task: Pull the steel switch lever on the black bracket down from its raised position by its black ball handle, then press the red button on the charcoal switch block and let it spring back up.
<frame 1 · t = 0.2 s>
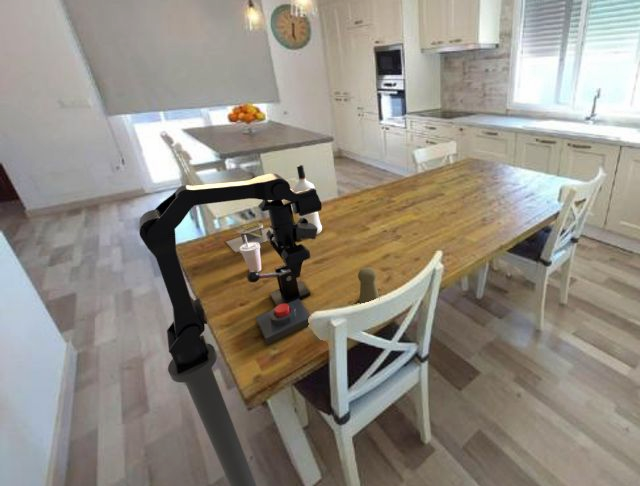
hand: (292, 269, 92), 12 cm above the table, tool pointing down, fingers open, 9 cm apart
switch bracket: (290, 295, 100), on the table
smoothie: (255, 270, 113), on the table
vodka: (311, 232, 139), on the table
switch button: (282, 310, 87), point 4 cm above the table, slide at 0.1 cm
grey brown pawn: (369, 301, 97), on the table
switch block: (285, 323, 89), on the table
switch lever: (269, 275, 94), point 10 cm above the table, hinge at 20.0°
platform: (253, 239, 134), on the table
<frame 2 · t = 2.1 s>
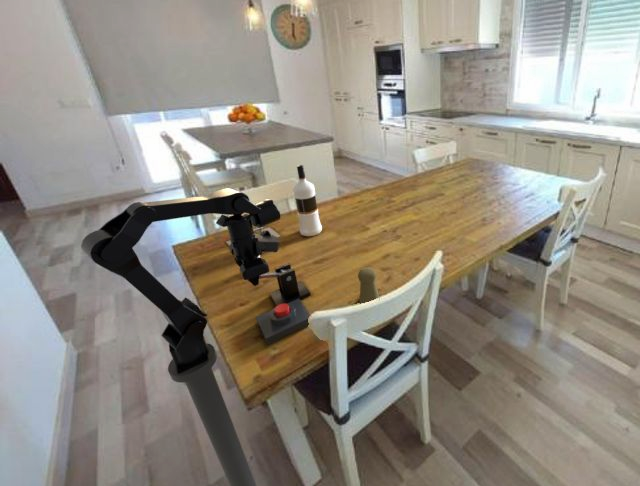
hand: (254, 282, 92), 9 cm above the table, tool pointing down, fingers closed on switch lever, 3 cm apart
switch lever: (269, 275, 94), point 10 cm above the table, hinge at 20.0°, touching gripper
everything else where it was.
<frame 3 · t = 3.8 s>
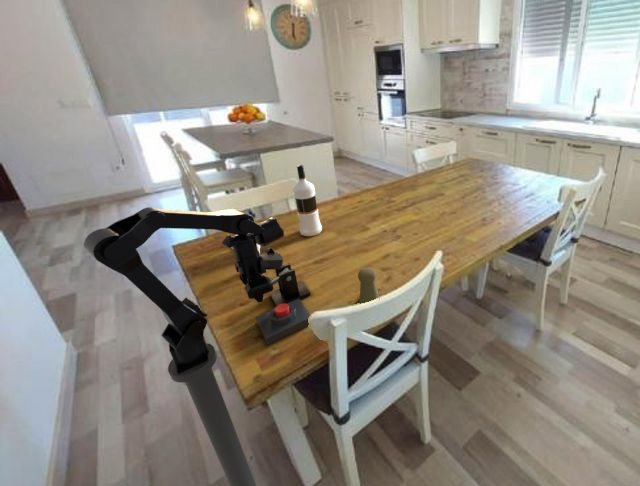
hand: (259, 298, 94), 3 cm above the table, tool pointing down, fingers closed on switch lever, 3 cm apart
switch lever: (271, 283, 95), point 7 cm above the table, hinge at -14.9°, touching gripper
everything else where it was.
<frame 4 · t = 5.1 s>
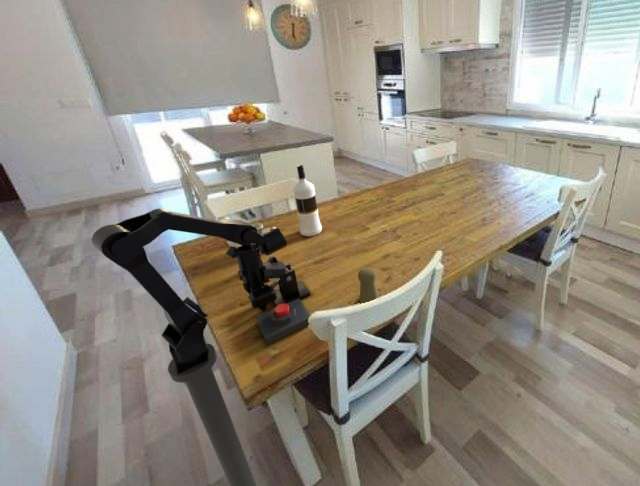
hand: (262, 307, 95), 0 cm above the table, tool pointing down, fingers open, 3 cm apart
switch lever: (273, 285, 96), point 6 cm above the table, hinge at -28.6°
everything else where it was.
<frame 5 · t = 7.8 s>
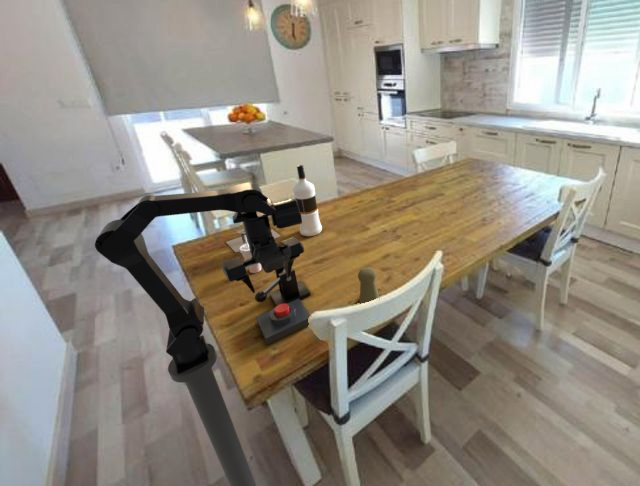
hand: (271, 284, 86), 12 cm above the table, tool pointing down, fingers open, 9 cm apart
nothing on the table moved.
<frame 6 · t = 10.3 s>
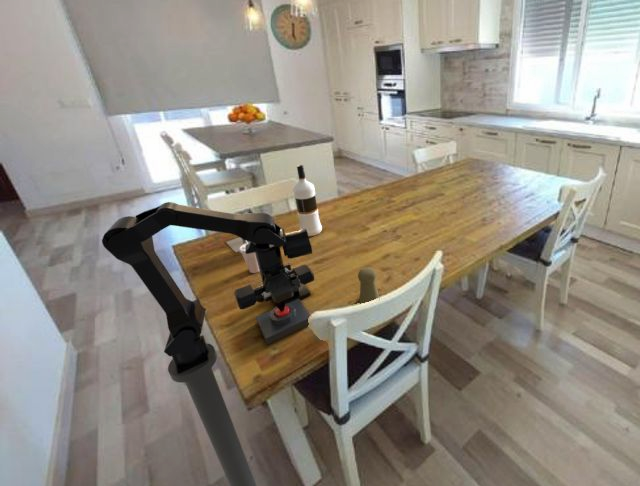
hand: (281, 310, 87), 4 cm above the table, tool pointing down, fingers closed, pressing on switch button
switch button: (282, 312, 88), point 4 cm above the table, slide at -0.8 cm, touching gripper
everything else where it was.
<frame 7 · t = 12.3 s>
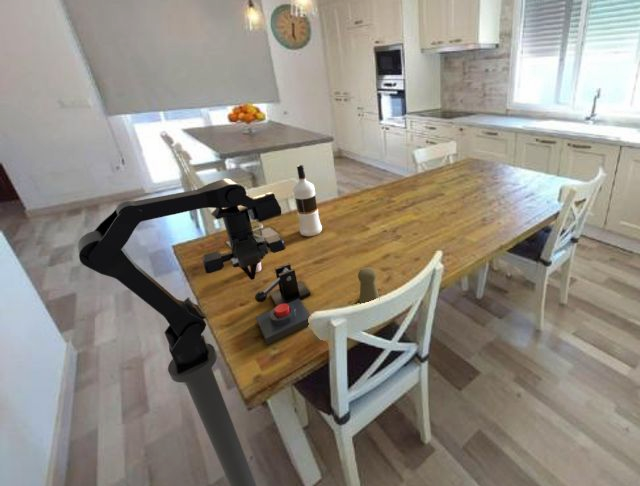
hand: (252, 278, 87), 13 cm above the table, tool pointing down, fingers closed
switch button: (282, 310, 87), point 4 cm above the table, slide at 0.1 cm
everything else where it was.
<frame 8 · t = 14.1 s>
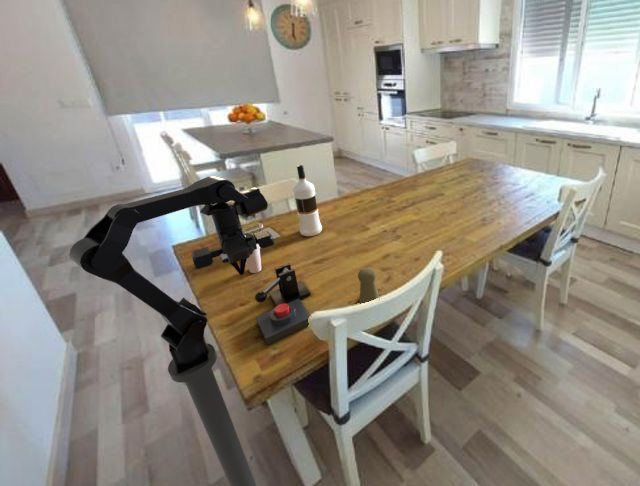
hand: (242, 274, 89), 13 cm above the table, tool pointing down, fingers closed
nothing on the table moved.
at the end: switch lever at -29° (first picture: +20°); switch button pushed in 1.1 cm at the most during the clip, back to where it started at the end; switch button slide at 0.1 cm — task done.
